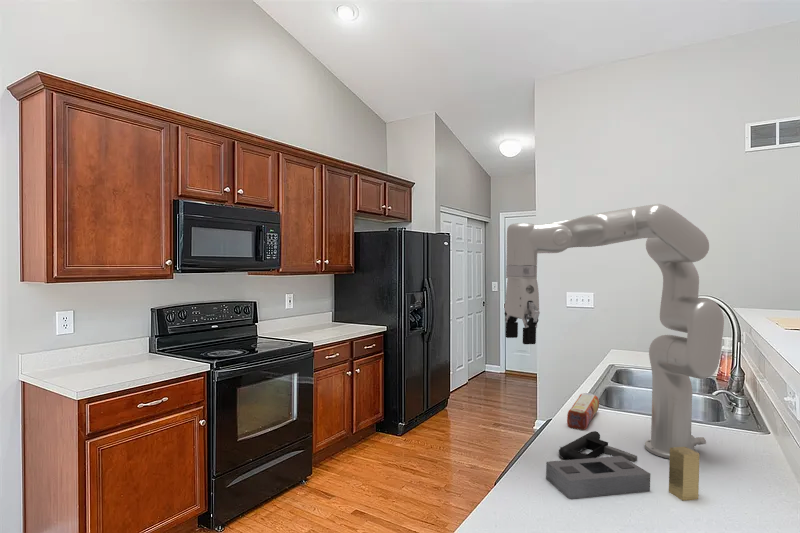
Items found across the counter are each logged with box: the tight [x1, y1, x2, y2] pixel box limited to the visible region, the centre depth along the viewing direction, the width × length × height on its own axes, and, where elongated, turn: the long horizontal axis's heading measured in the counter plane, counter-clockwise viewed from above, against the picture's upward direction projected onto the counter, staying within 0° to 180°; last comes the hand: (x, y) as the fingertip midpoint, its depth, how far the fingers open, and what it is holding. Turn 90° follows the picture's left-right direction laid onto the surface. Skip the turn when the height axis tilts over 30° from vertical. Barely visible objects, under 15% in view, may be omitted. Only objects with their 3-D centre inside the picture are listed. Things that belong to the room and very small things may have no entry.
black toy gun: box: [558, 430, 638, 463], centre depth 128 cm, size 3×20×16 cm
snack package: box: [566, 392, 600, 431], centre depth 157 cm, size 21×7×7 cm, turn 149°
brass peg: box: [668, 447, 700, 502], centre depth 107 cm, size 4×4×10 cm
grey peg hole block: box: [545, 456, 651, 500], centre depth 111 cm, size 20×10×4 cm, turn 102°
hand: (520, 340), depth 122 cm, fingers open, 9 cm apart
